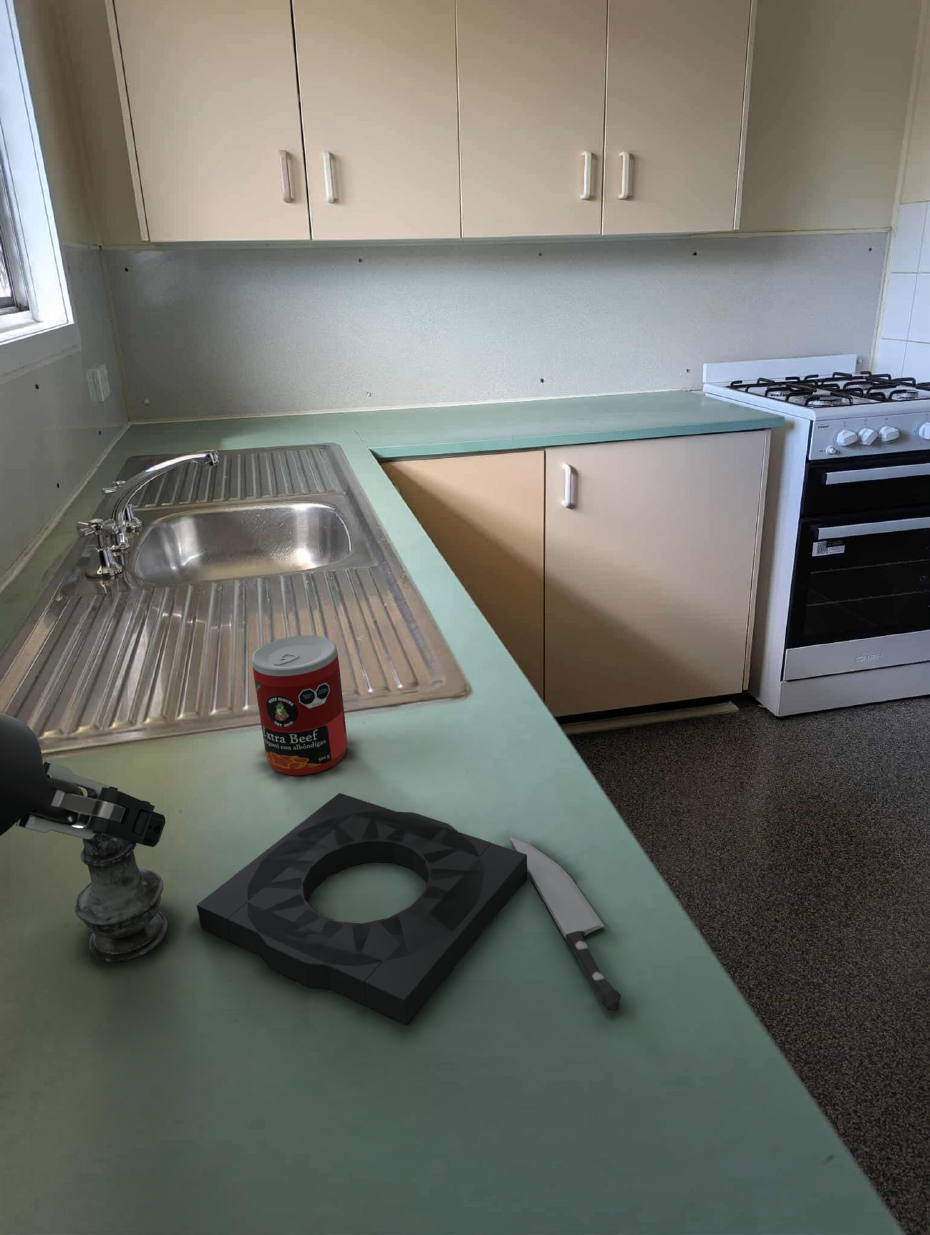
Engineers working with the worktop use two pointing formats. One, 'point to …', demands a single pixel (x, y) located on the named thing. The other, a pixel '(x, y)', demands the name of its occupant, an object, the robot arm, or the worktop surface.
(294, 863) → the black pad
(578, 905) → the chef's knife
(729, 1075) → the worktop surface
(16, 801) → the robot arm
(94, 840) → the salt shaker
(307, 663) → the canned food
